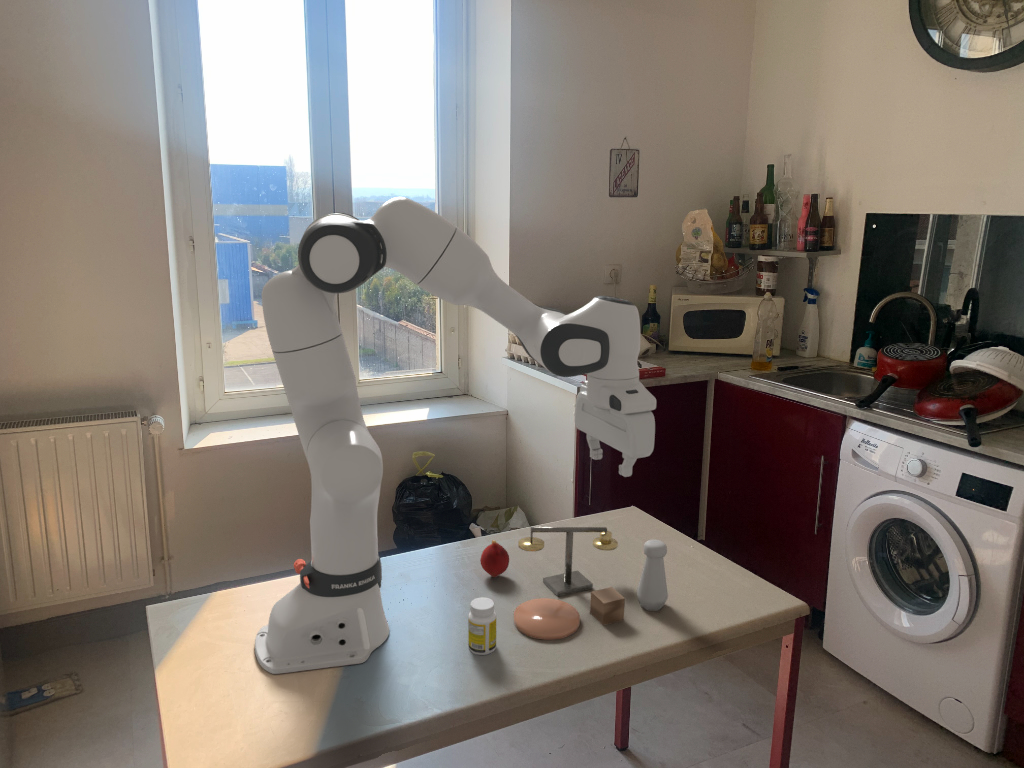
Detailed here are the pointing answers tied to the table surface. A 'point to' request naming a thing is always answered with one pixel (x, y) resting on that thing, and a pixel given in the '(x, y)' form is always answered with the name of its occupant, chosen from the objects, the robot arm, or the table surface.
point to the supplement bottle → (482, 626)
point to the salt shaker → (653, 577)
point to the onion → (494, 559)
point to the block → (607, 606)
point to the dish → (546, 619)
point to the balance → (568, 557)
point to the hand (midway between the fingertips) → (610, 466)
